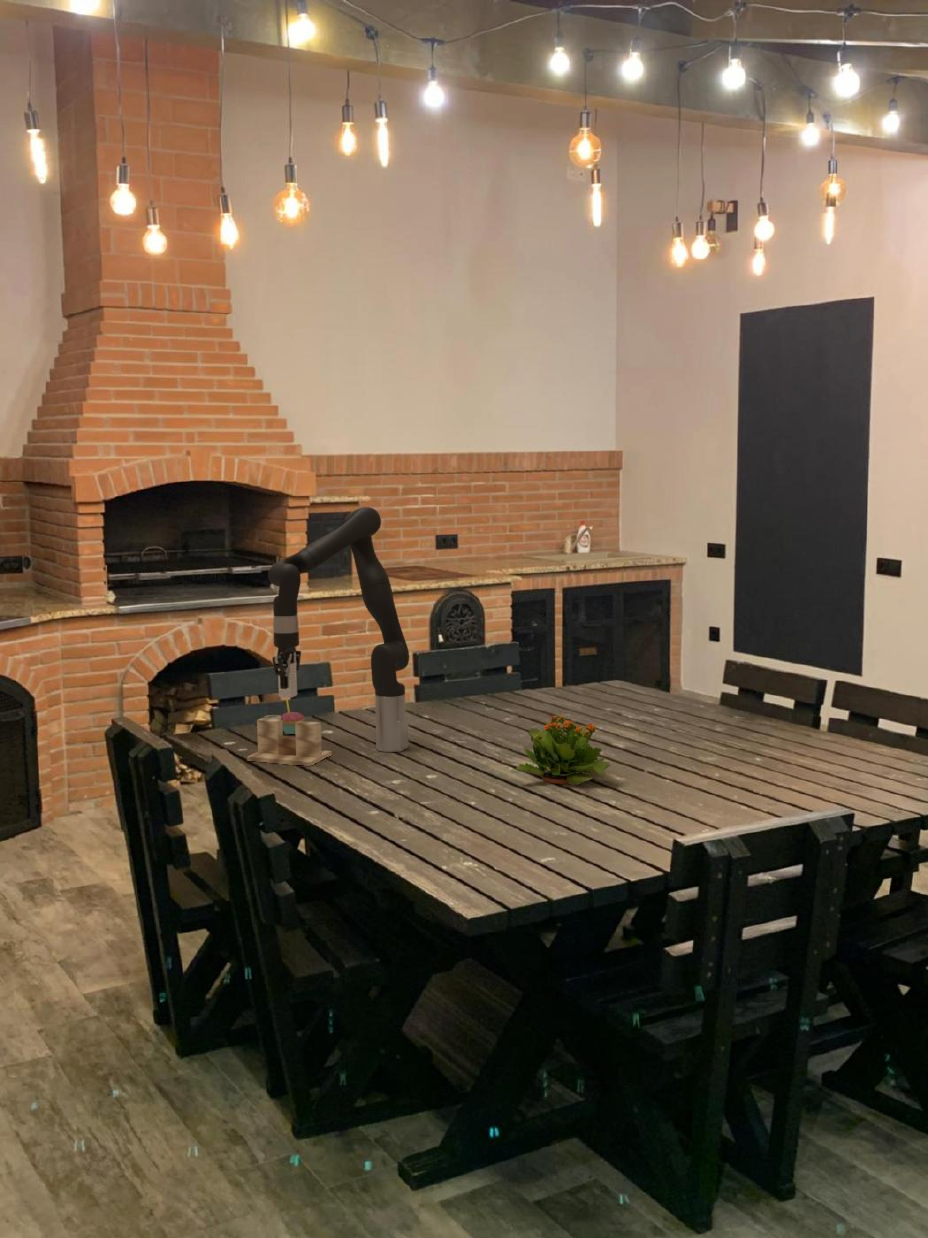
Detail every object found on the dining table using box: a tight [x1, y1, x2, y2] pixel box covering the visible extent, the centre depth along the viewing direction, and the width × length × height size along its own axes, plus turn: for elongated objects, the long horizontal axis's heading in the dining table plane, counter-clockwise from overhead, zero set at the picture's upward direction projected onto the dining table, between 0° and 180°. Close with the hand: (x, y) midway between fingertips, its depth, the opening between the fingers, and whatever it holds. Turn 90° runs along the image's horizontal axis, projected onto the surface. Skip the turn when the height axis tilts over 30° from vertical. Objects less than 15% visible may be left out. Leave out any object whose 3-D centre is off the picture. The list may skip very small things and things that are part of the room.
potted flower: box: [516, 715, 612, 787], centre depth 344 cm, size 25×24×18 cm
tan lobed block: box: [246, 714, 333, 766], centre depth 371 cm, size 21×14×12 cm, turn 69°
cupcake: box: [280, 697, 306, 735], centre depth 406 cm, size 9×8×12 cm
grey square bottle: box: [277, 662, 298, 698], centre depth 368 cm, size 4×4×13 cm
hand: (287, 686), depth 369 cm, fingers closed on grey square bottle, 4 cm apart
